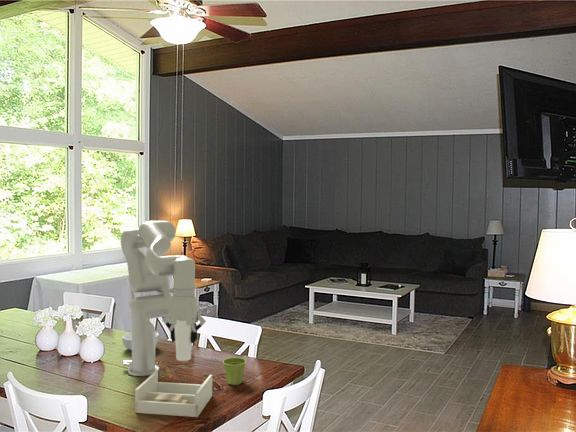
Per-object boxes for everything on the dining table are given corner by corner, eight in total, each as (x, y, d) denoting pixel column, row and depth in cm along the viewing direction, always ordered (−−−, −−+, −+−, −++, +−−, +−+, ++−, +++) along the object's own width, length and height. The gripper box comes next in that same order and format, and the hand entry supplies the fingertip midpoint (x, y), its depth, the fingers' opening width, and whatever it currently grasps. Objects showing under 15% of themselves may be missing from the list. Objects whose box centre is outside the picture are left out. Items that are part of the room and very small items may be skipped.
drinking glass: (188, 363, 195) (188, 321, 194) (170, 361, 196) (171, 320, 195) (195, 357, 201) (196, 316, 201) (178, 355, 203) (178, 315, 202)
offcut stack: (150, 412, 189) (150, 398, 189) (155, 406, 194) (156, 393, 194) (184, 414, 188) (184, 400, 188) (188, 408, 193) (188, 395, 192)
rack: (135, 412, 188) (135, 389, 187) (155, 392, 207) (155, 371, 206) (197, 417, 185) (197, 393, 185) (212, 395, 204) (212, 374, 204)
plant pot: (226, 388, 212) (226, 366, 212) (219, 380, 221) (219, 358, 220) (249, 385, 216) (249, 363, 215) (241, 377, 224) (242, 356, 224)
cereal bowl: (131, 343, 269) (131, 329, 269) (164, 345, 267) (164, 331, 266) (115, 353, 252) (115, 338, 252) (150, 356, 250) (150, 340, 249)
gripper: (157, 293, 195) (156, 343, 196) (204, 295, 193) (204, 345, 194) (164, 289, 202) (164, 337, 203) (210, 291, 200) (209, 340, 201)
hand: (183, 341), depth 198 cm, fingers closed on drinking glass, 6 cm apart
